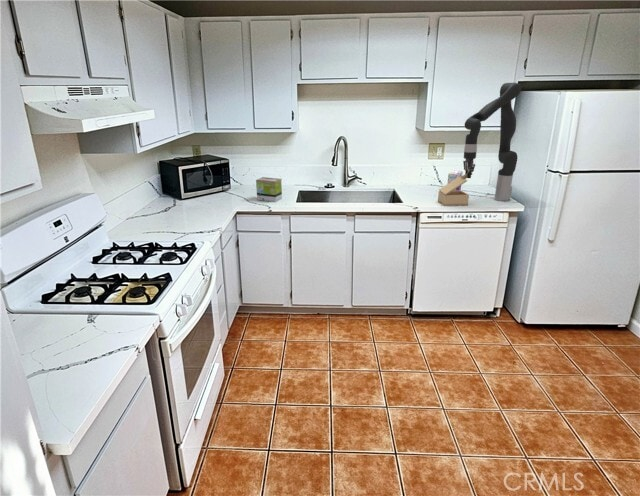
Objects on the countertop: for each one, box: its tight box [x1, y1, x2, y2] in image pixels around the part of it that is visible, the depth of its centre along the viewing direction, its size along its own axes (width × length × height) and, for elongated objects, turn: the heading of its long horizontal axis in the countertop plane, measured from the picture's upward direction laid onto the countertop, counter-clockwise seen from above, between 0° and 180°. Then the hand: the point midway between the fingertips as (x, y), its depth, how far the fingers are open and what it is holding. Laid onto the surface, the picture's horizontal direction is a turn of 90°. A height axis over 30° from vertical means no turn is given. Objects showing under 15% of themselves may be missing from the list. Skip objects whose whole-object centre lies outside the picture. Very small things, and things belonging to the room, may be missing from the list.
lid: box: [438, 172, 473, 195], centre depth 270 cm, size 22×12×2 cm
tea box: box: [255, 176, 283, 203], centre depth 285 cm, size 15×10×15 cm
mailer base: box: [437, 190, 470, 207], centre depth 274 cm, size 16×12×7 cm
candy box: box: [446, 170, 464, 191], centre depth 293 cm, size 14×6×16 cm, turn 143°
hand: (467, 177), depth 270 cm, fingers closed on lid, 3 cm apart
